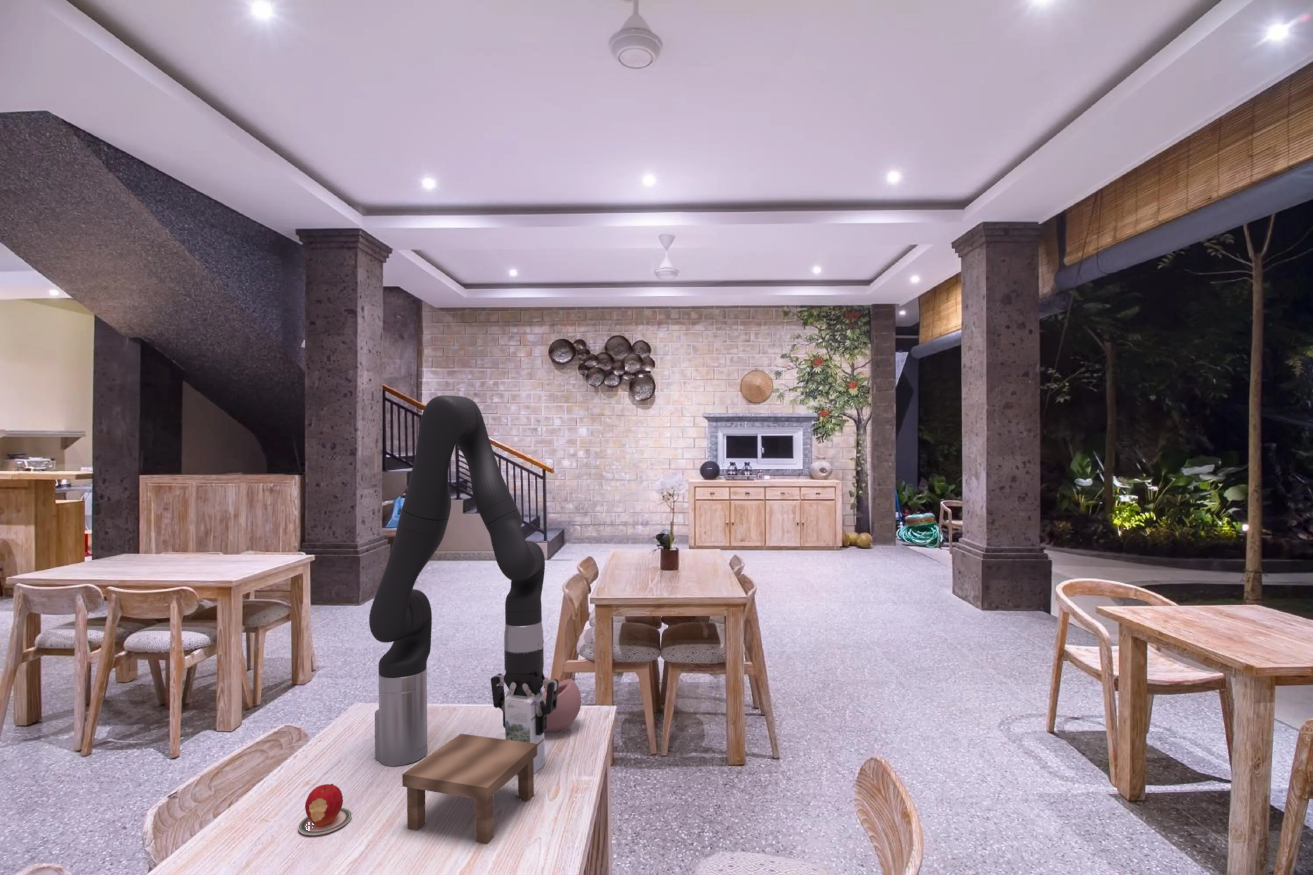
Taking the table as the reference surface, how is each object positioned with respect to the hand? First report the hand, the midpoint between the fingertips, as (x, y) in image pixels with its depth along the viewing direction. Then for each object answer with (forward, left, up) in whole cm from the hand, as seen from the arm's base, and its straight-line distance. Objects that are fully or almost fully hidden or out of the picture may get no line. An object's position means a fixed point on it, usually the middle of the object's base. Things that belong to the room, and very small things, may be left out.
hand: (525, 731), depth 125 cm
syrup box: (0, 0, -7) cm, 7 cm away
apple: (-23, -26, -7) cm, 35 cm away
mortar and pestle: (-3, +18, -7) cm, 20 cm away
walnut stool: (-1, -16, -7) cm, 18 cm away
